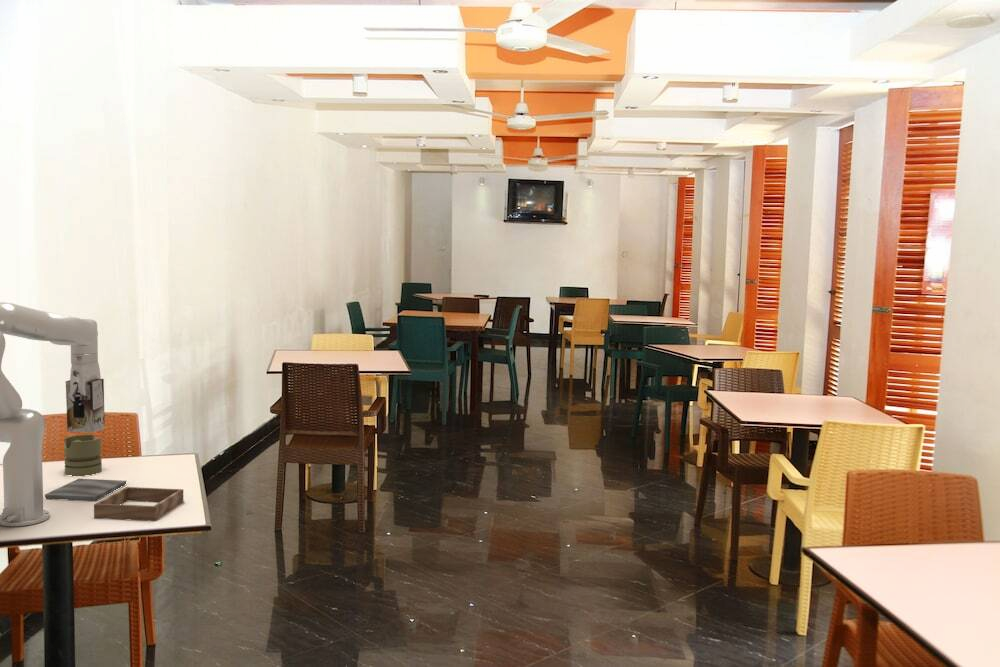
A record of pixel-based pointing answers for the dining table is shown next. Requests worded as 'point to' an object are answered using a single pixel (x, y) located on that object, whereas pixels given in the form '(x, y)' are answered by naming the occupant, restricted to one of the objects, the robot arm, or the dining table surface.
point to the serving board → (85, 489)
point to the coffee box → (87, 409)
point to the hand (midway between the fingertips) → (85, 414)
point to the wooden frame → (138, 512)
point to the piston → (82, 455)
